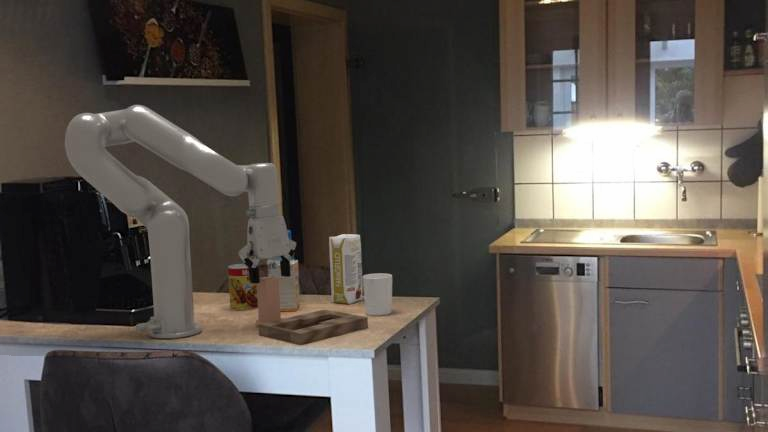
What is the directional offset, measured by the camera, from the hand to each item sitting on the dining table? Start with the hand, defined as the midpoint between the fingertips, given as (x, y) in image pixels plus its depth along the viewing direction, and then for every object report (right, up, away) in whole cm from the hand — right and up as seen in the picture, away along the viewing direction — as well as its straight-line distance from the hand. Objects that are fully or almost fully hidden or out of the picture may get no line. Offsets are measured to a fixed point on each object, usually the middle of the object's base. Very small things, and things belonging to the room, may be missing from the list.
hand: (270, 279), depth 207 cm
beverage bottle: (-2, -8, +38) cm, 38 cm away
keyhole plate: (+12, -12, -8) cm, 19 cm away
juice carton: (+18, -9, +28) cm, 34 cm away
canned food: (-11, -10, +24) cm, 28 cm away
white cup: (+27, -10, +10) cm, 31 cm away
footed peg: (0, -12, +1) cm, 12 cm away
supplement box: (+3, -10, +21) cm, 23 cm away
